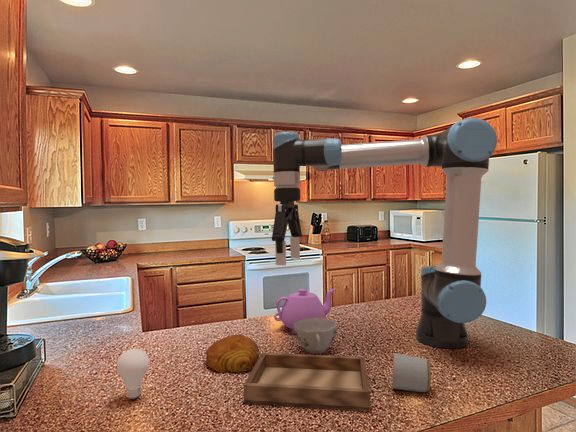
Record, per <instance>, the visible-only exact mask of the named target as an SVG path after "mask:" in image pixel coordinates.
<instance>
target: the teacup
mask: <svg viewBox="0 0 576 432" xmlns="http://www.w3.org/2000/svg"><path fill="white" fill-rule="evenodd" d="M294 329H295V334H294V335H295V337H296V340H297V341H298V342H299V344H300V345H301V347H302V348H303V349H304V350H305V351H306V352H307V353H310V354H312V355H321V354H323V353H325V352H326V351H327V350H328V349H329V348H330V347H331V345H332V344H333V342H334V340H335V338H336V334H337V329H338V324H337V322H336V321H335V320H333V319H329V318H327V317H326V318H324V319H323V318H309V319H304V320H301V321H297V322H295V323H294Z"/></svg>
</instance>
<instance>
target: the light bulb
mask: <svg viewBox="0 0 576 432" xmlns="http://www.w3.org/2000/svg"><path fill="white" fill-rule="evenodd" d="M149 367H150V359H149V356H148V354H147V353H146V351H144V350H143V349H141V348H134V347H133V348H130V349H127V350H125V351H124V352H123V353H122V354H121V355H119V358H118V359H117V362H116V371H117V373H118V375H119V376H120V378H121V379H122V381H123V383H124V387H125V389H126V393H125V394H126V398H127V399H130V400H136V399H137V398H140V396H141V395H142V390H141V389H142V388H141V387H142V385H143V380H144V377H145V375H146V373H147V371H148V369H149Z"/></svg>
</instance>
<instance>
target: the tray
mask: <svg viewBox="0 0 576 432" xmlns="http://www.w3.org/2000/svg"><path fill="white" fill-rule="evenodd" d="M368 377H369V376H368V370H367V364H366V356H349V355H348V356H346V355H345V356H344V355H326V354H325V355H323V354H322V355H321V354H301V353H300V354H299V353H298V354H296V353H278V352H277V353H275V352H274V353H271V352H270V353H269V352H261V353H260V354H259V359H258V361H257V362H256V364H255V366H254V368H253V369H251V371H250V373H249V375H248V377H247V378H246V379H245V382H244V384H243V404H244V405H260V406H275V407H291V408H292V407H295V408H308V409H309V408H310V409H322V410H323V409H324V410H325V409H326V410H338V411H339V410H343V411H358V412H359V411H360V412H370V411H371V399H370V398H371V394H370V391H371V390H370V385H369V379H368Z"/></svg>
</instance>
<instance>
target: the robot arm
mask: <svg viewBox="0 0 576 432" xmlns="http://www.w3.org/2000/svg"><path fill="white" fill-rule="evenodd" d="M272 141H273V142H272V143H273V146H272V158H273V159H272V161H273V163H272V164H273V165H272V166H273V176H272V177H271V179H272V180H273V186H274V187H276V188H274V189H273V200H274V202H279V204H275V213H274V215H275V216H274V221H273V228H272V236H271V241H272V242H275V244H274V245H275V266H287V248H286V247H287V243H286V242H287V241H286V240H285V238H286V234H287V230H288V229H289V232H290V238H289V239H290V240H289V242H290V243H289V247H290V248H289V249H290V250H289V251H290V259H298V260H299V259H300V257H301V255H300V253H301V251H300V249H301V248H300V247H301V245H300V244H301V243H300V242H301V241H300V238H301V237H303V233H302V229H301V227H302V226H301V221H300V214H299V205H298V204H295V202H300V200H301V189H300V186H301V171H300V169H301V167H313V169H314V170H316V171H318V172H327V171H329V170H343V169H358V168H374V167H375V168H376V167H393V166H407V165H408V166H409V165H421V166H422V167H424V168H428V167H433V168H434V167H436V168H437V167H439V168H441V172H442V173H443V174H444V175H445V176H446V186H445V204H444V215H443V216H444V217H443V218H444V219H443V234H442V247H441V248H442V250H441V262H440V263H439V264H438V265H436V266H435V265H433V266H431V265H430V266H429V265H428V266H423V267H422V269H421V274H420V279H421V281H420V282H421V285H420V287H421V288H420V290H421V297H420V298H421V313H420V314H421V315H420V317H419V320H418V324H417V326H416V329H415V339H416V340H417V341H418V342H420V343H421V344H424V345H427V346H431V347H433V348H434V347H436V348H441V349H459V348H463V347H467V345H468V344H469V334H468V331H467V328H466V325H465V324H467V323H471V322H474V321H476V320H478V318H479V317H481V316H482V315H483V313H484V312H485V310H486V307H487V296H486V293H485V291H484V290H483V288H482V287H481V285H482V271H481V270H480V269H479V268H478V267H477V251H478V250H477V248H478V236H479V220H480V219H479V218H480V206H481V189H482V188H481V187H482V178H483V177H484V175H486V174H487V172H489V165H490V157H491V156H492V155H493V153H494V152H495V150H496V149H497V145H498V136H497V133H496V130H495V129H494V127H493V126H492V125H491V124H490V123H489V122H488V121H486V120H484V119H482V118H477V117H469V118H464V119H461V120H459V121H457V122H456V123H454V124H453V125H451V126H450V127H449V128H447V129H445V130H444V131H441V132H439V133H433V134H428V135H426V134H425V135H423V136H422V137H420V138H418V139H405V140H392V141H391V140H390V141H388V140H387V141H376V142H375V141H374V142H373V141H372V142H363V143H361V142H360V143H348V144H345V143H344V144H342V141H341V139H339V138H331V137H327V138H316V139H301V138H300V135H299V133H298V132H296V131H295V132H294V131H283V132H281V131H280V132H277V133H275V134H274V135H273V140H272Z"/></svg>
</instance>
